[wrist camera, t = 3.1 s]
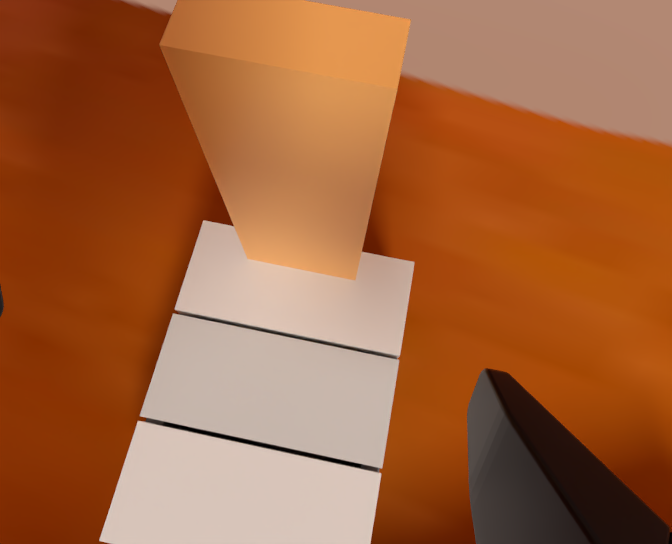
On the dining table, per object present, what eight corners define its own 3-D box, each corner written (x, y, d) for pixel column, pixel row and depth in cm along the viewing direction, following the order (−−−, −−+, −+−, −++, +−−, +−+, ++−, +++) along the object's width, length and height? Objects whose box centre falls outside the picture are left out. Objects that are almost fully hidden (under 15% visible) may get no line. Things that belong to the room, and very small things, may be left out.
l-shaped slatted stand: (359, 594, 14) (447, 947, 4) (107, 536, 15) (-340, 746, 5) (413, 259, 18) (526, 40, 8) (209, 218, 18) (76, -41, 8)
